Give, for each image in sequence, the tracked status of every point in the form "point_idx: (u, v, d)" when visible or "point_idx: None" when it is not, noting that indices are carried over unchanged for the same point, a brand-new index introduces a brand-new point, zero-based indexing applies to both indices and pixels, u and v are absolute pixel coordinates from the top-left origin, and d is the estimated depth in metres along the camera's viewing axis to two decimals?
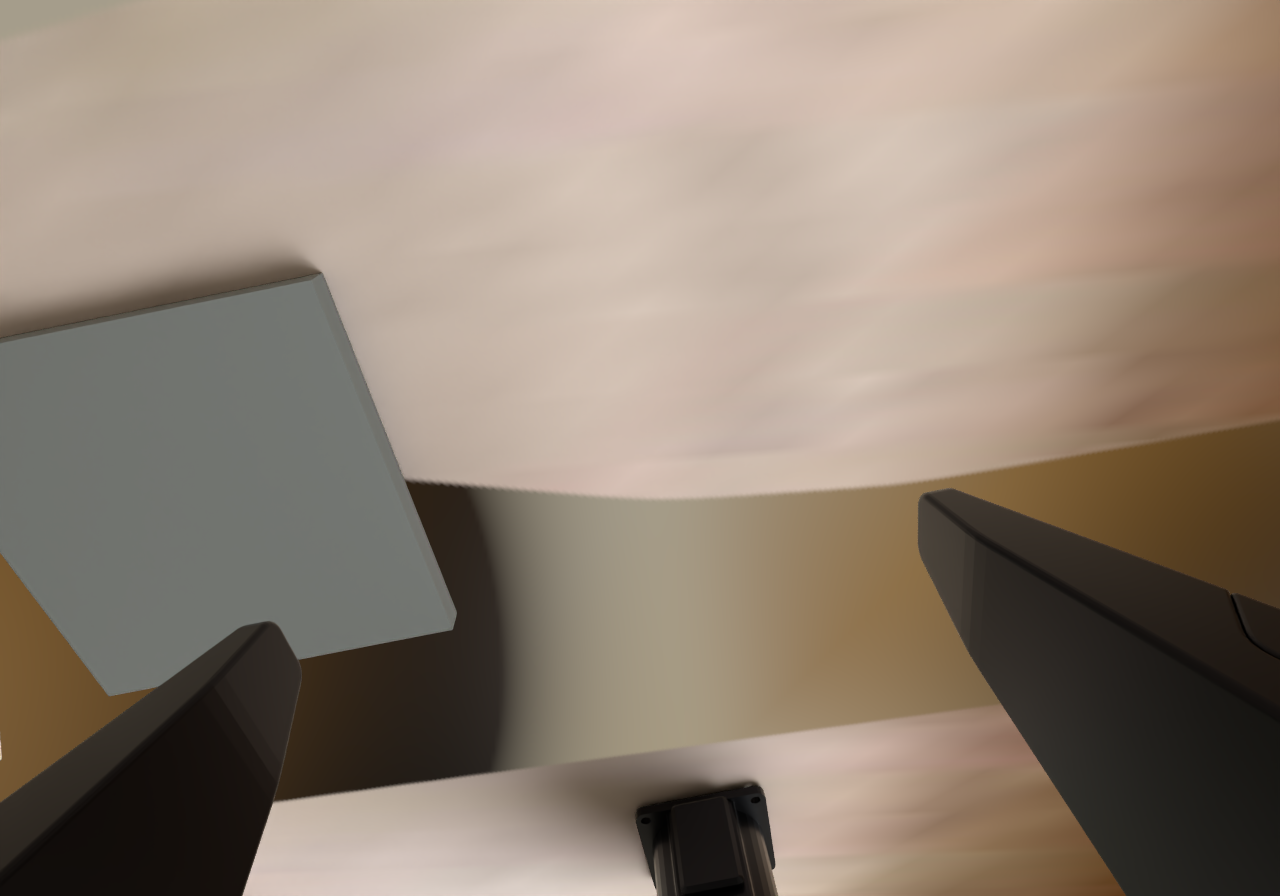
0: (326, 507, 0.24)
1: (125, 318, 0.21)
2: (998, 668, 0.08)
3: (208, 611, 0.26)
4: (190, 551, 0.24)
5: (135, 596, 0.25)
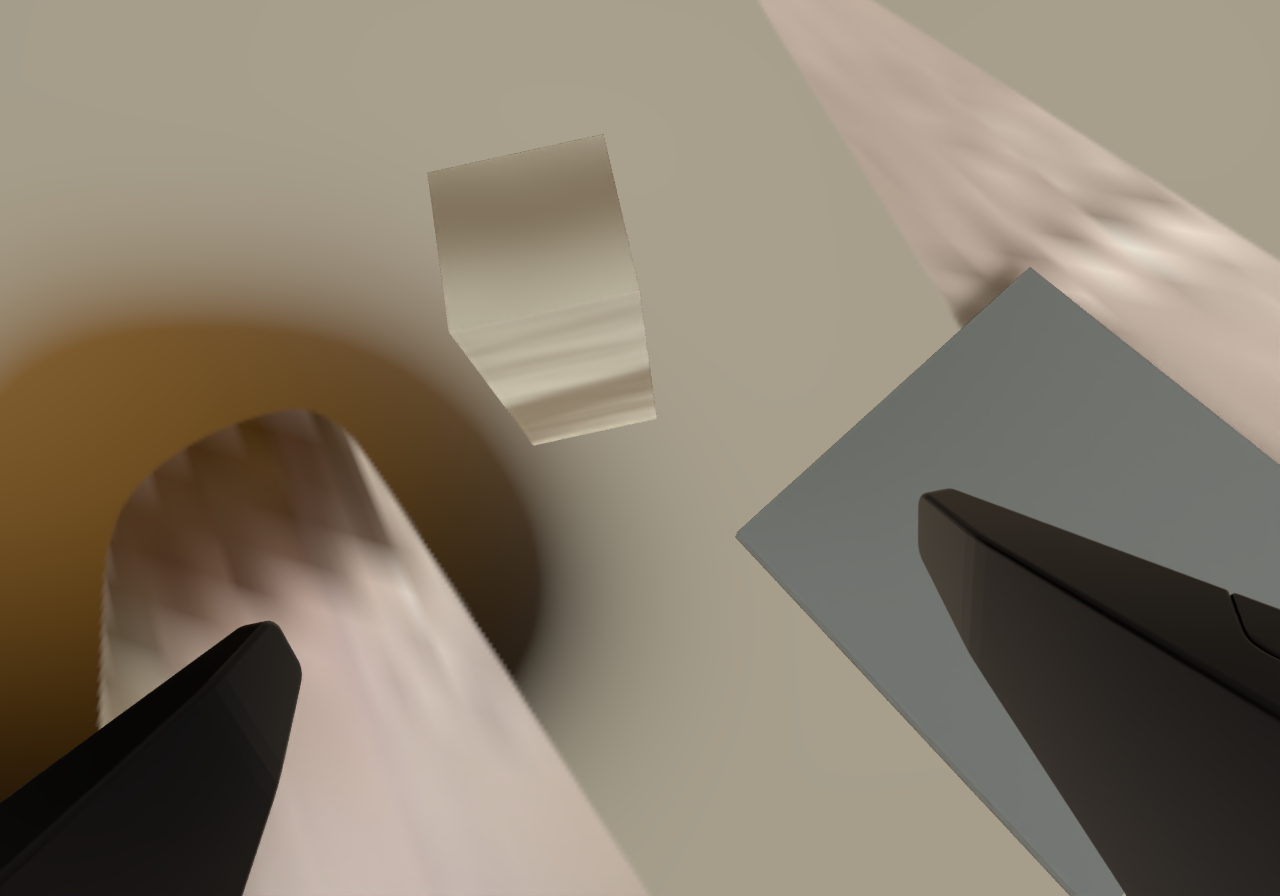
0: None
1: (1236, 432, 0.22)
2: (998, 668, 0.08)
3: (935, 600, 0.21)
4: None
5: (910, 521, 0.22)
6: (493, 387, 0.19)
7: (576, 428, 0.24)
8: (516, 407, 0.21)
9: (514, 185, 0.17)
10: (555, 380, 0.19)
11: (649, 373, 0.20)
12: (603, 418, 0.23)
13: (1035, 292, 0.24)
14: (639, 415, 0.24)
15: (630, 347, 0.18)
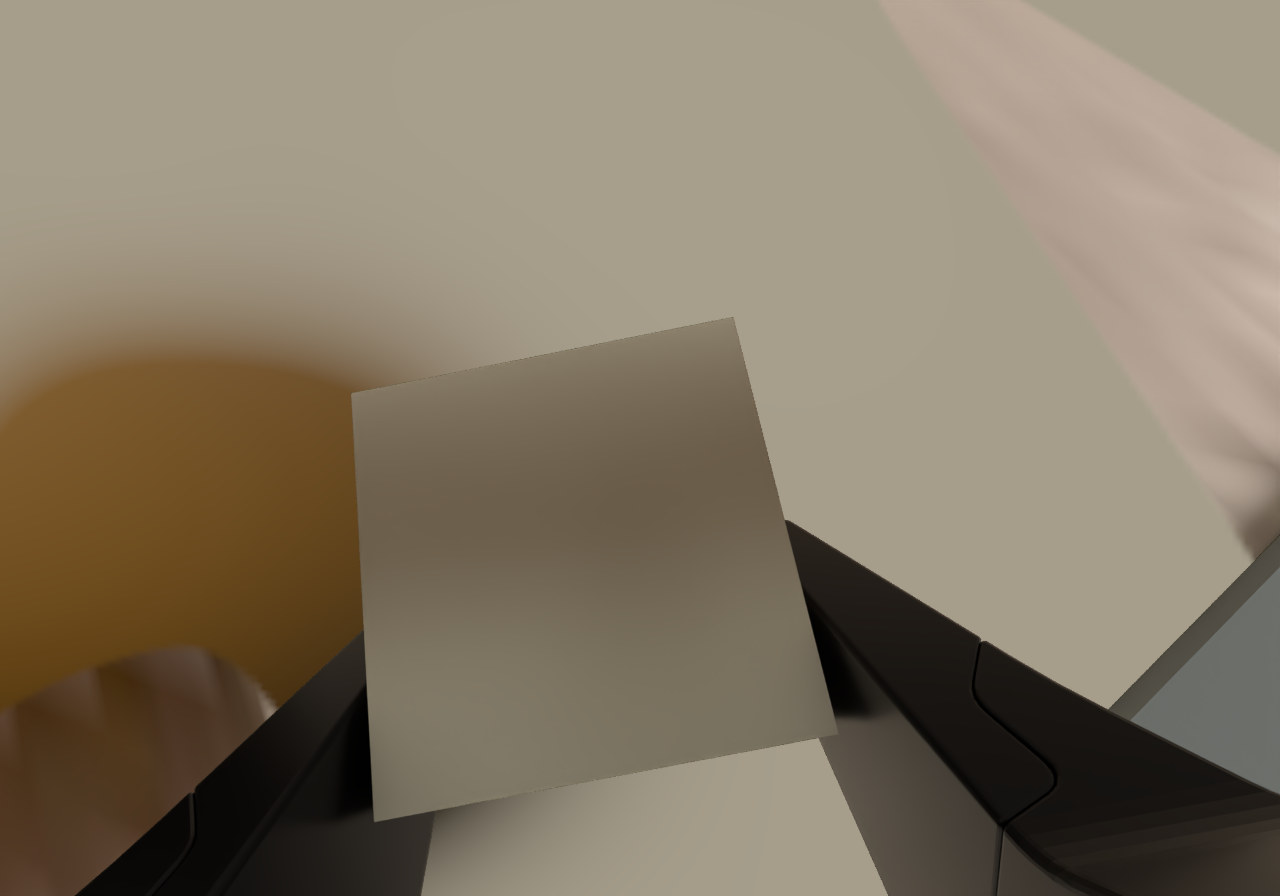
0: None
1: None
2: None
3: None
4: None
5: None
6: None
7: None
8: None
9: (538, 433, 0.08)
10: None
11: None
12: None
13: None
14: None
15: None
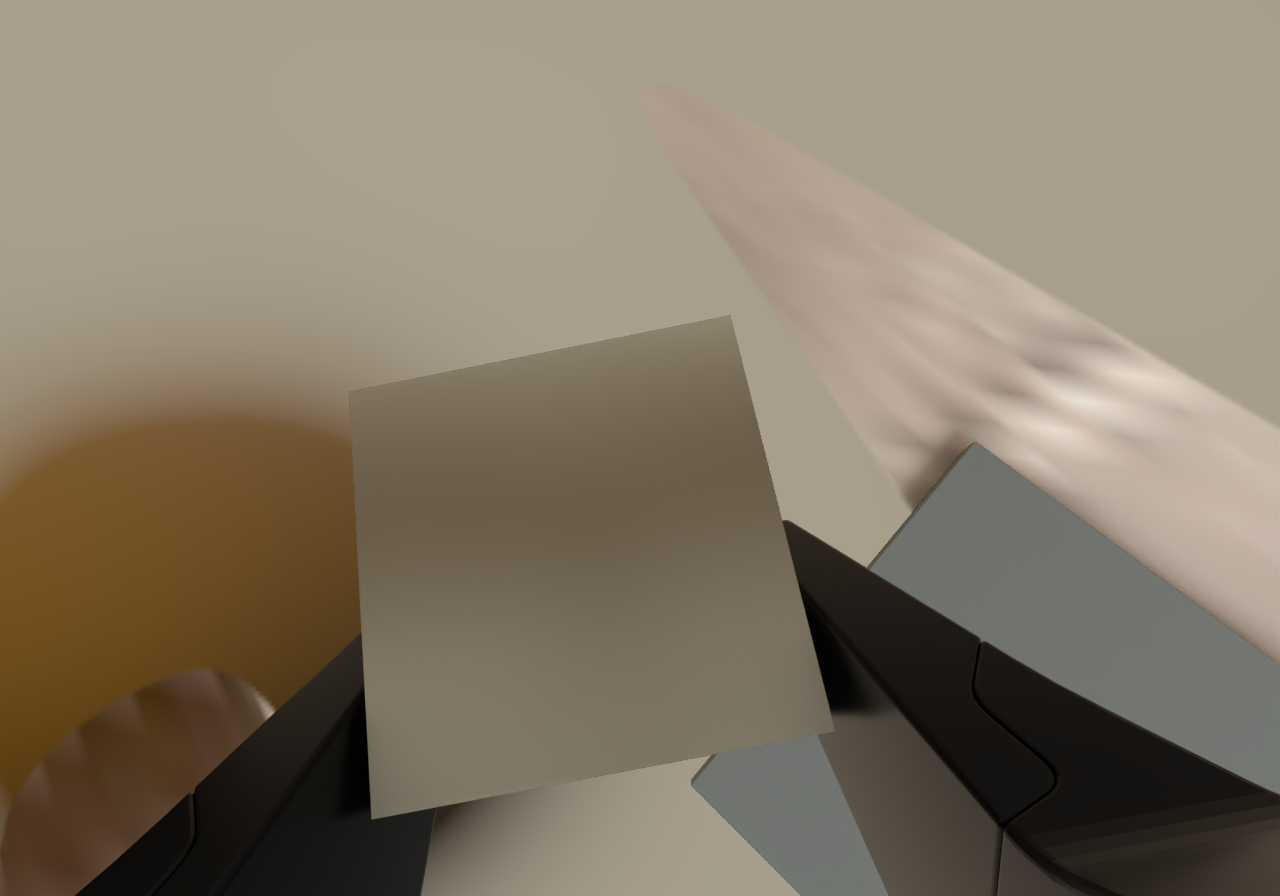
0: None
1: (1212, 616, 0.20)
2: None
3: None
4: None
5: None
6: None
7: None
8: None
9: (535, 431, 0.08)
10: None
11: None
12: None
13: (984, 470, 0.22)
14: None
15: None
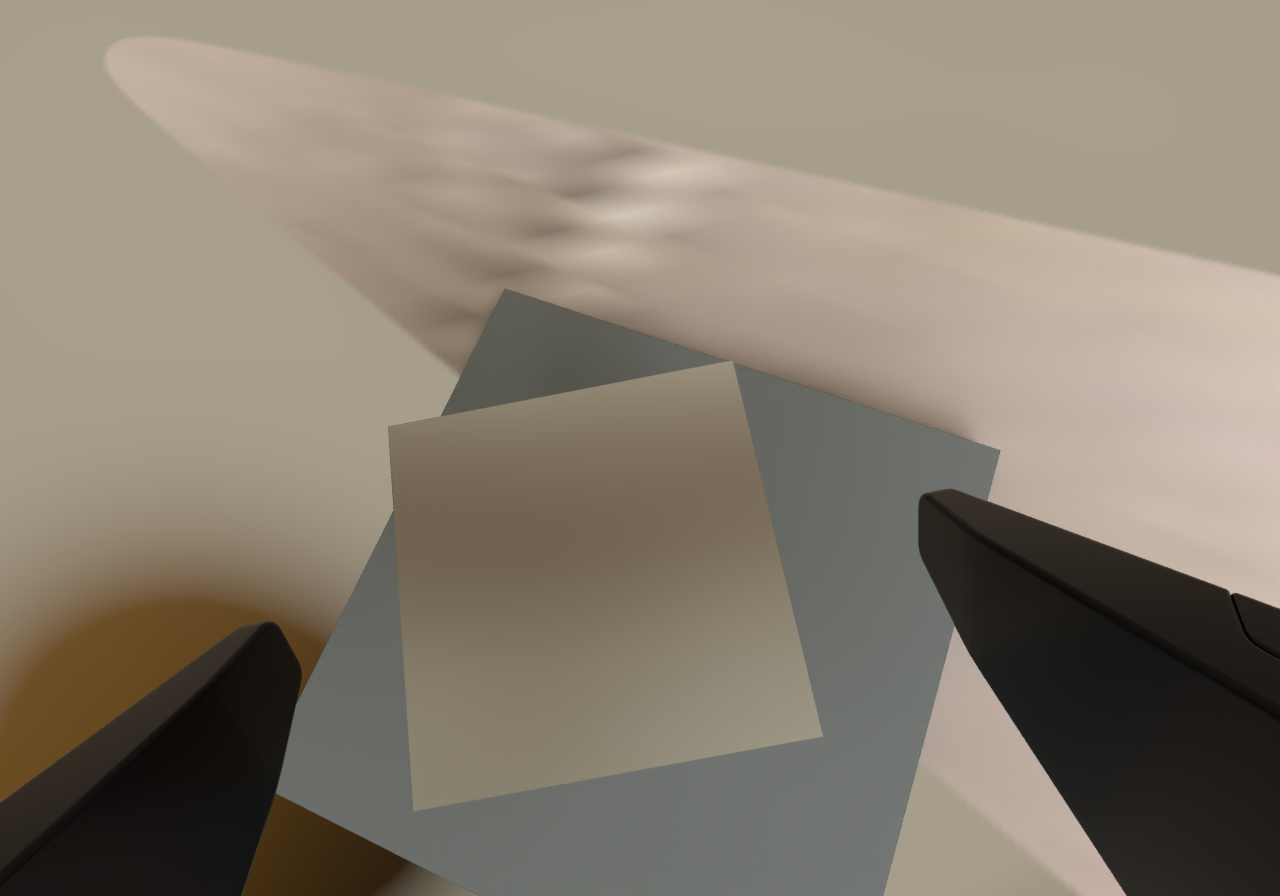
0: None
1: (778, 379, 0.18)
2: (998, 668, 0.08)
3: None
4: None
5: None
6: None
7: None
8: None
9: (556, 464, 0.08)
10: None
11: None
12: None
13: (519, 315, 0.19)
14: None
15: None
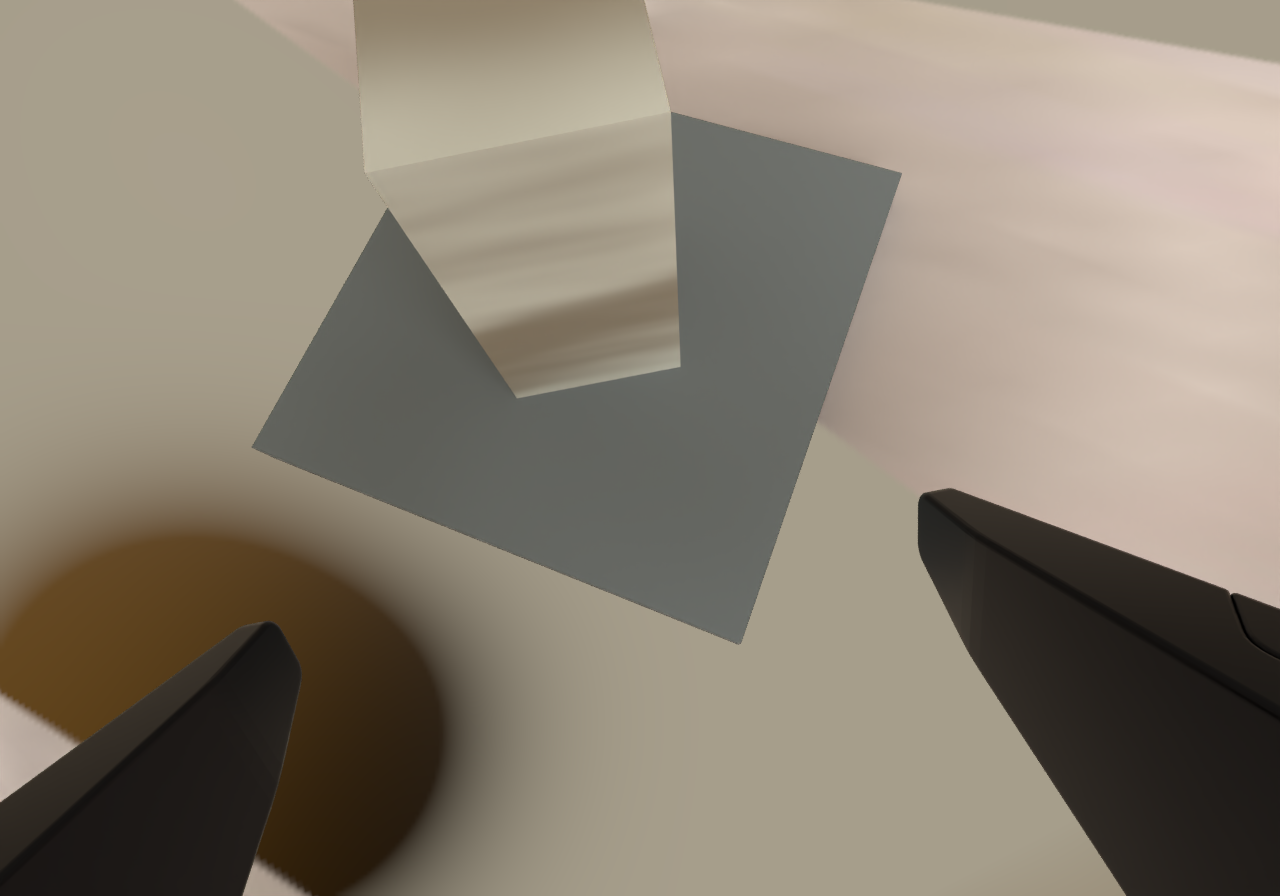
0: (728, 375, 0.18)
1: (711, 124, 0.21)
2: (998, 668, 0.08)
3: (479, 414, 0.18)
4: None
5: (430, 349, 0.19)
6: (451, 294, 0.13)
7: (573, 375, 0.18)
8: (488, 333, 0.15)
9: None
10: (541, 288, 0.14)
11: (675, 287, 0.14)
12: (610, 361, 0.17)
13: None
14: (657, 359, 0.18)
15: (651, 235, 0.12)
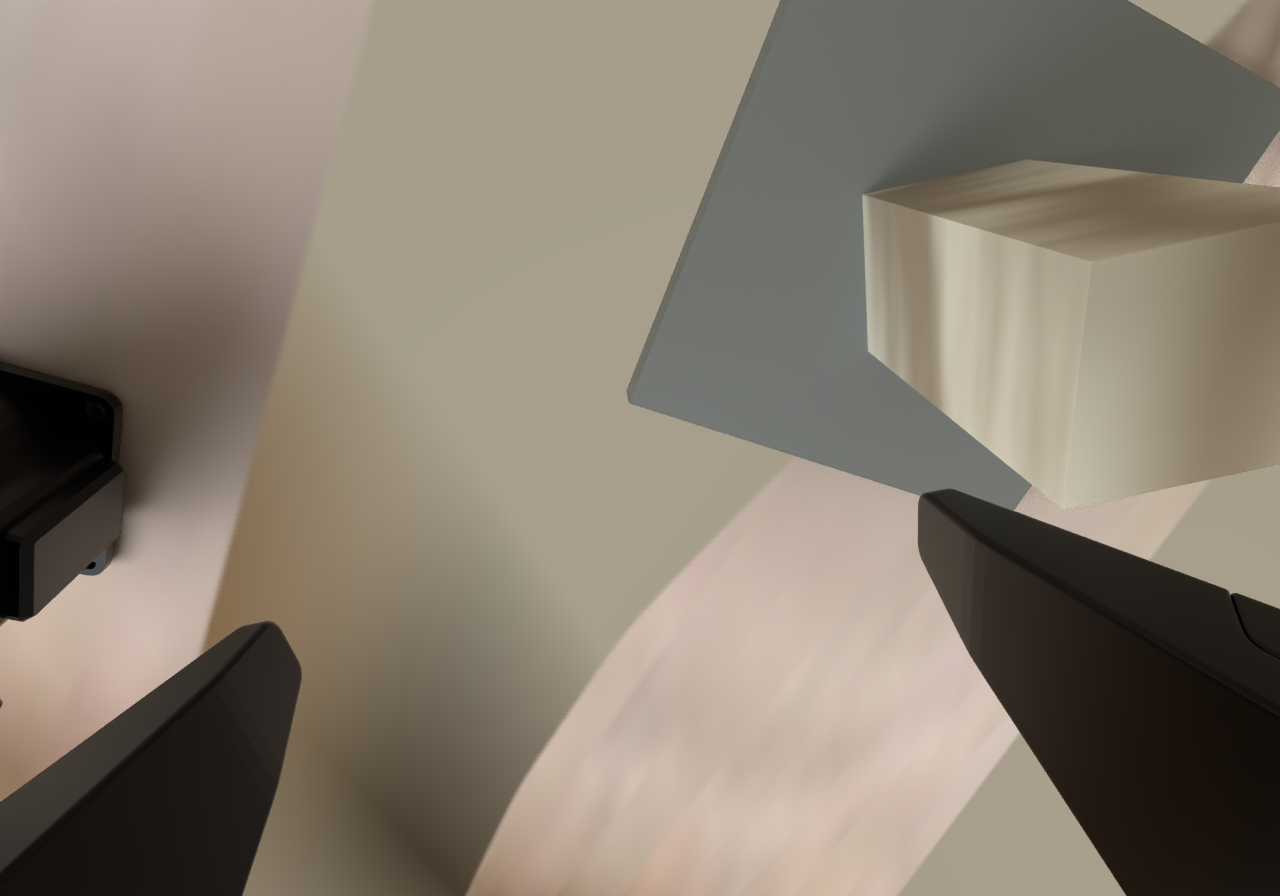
0: (853, 391, 0.21)
1: None
2: (998, 668, 0.08)
3: (851, 154, 0.18)
4: None
5: (934, 86, 0.17)
6: (970, 230, 0.13)
7: (875, 263, 0.18)
8: (927, 227, 0.15)
9: None
10: (957, 308, 0.15)
11: (934, 403, 0.17)
12: (882, 303, 0.18)
13: (1263, 120, 0.18)
14: (877, 340, 0.19)
15: (979, 423, 0.15)
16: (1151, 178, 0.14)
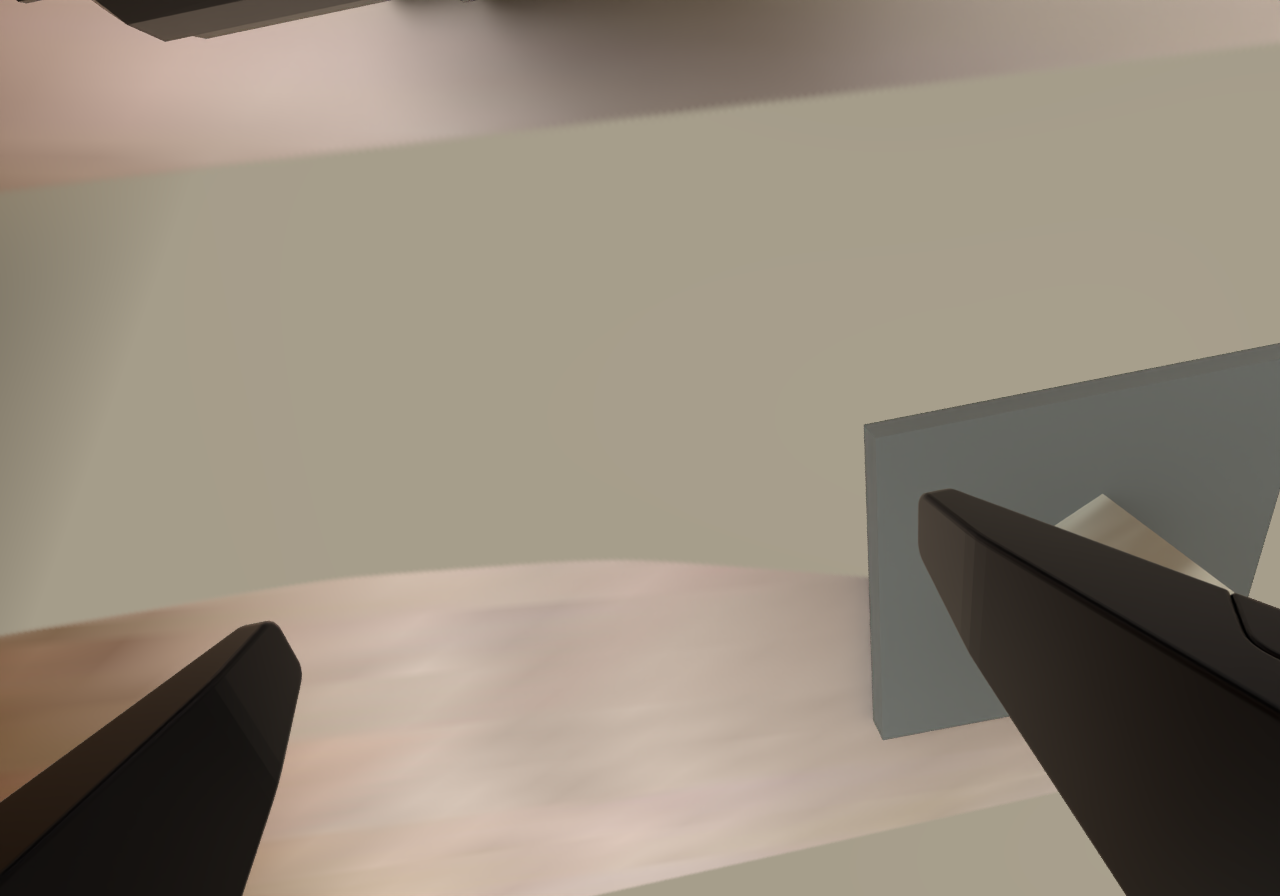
0: None
1: None
2: (998, 668, 0.08)
3: (1128, 469, 0.23)
4: None
5: (1186, 488, 0.23)
6: None
7: None
8: (1180, 565, 0.20)
9: None
10: None
11: None
12: None
13: None
14: None
15: None
16: None
